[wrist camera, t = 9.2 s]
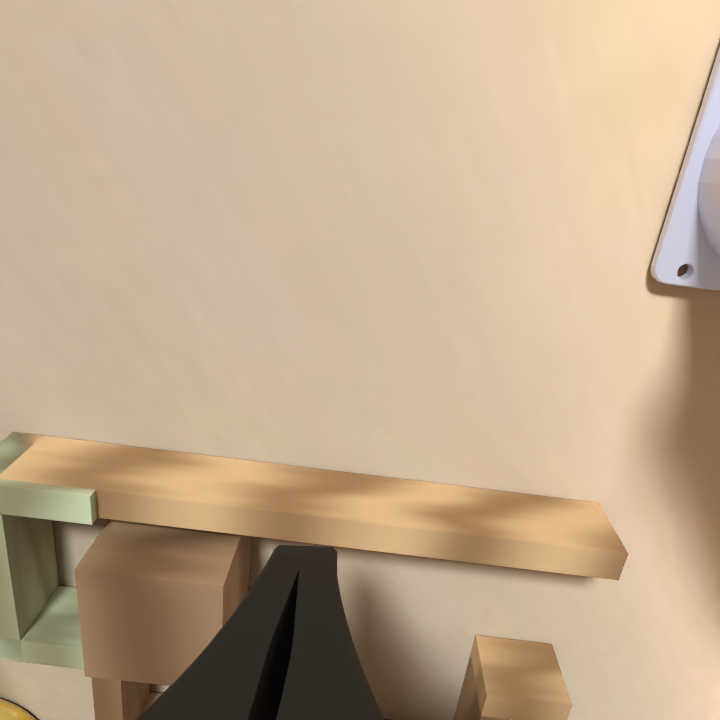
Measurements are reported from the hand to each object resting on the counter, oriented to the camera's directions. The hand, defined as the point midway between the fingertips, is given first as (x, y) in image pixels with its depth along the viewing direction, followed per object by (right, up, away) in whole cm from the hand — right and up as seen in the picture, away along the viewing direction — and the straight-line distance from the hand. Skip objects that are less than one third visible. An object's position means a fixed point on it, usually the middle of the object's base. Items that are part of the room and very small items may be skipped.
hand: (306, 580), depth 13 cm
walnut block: (-6, -3, +12) cm, 13 cm away
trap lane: (-2, -6, +13) cm, 14 cm away
